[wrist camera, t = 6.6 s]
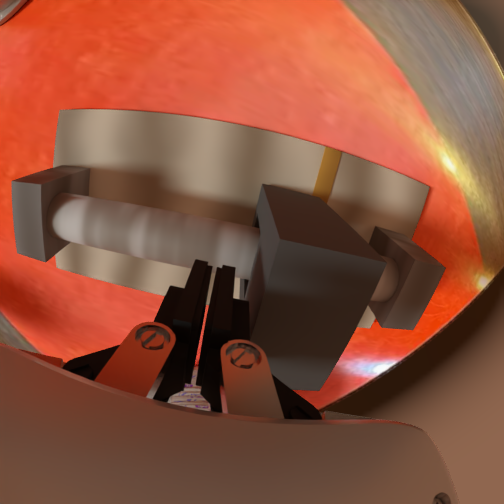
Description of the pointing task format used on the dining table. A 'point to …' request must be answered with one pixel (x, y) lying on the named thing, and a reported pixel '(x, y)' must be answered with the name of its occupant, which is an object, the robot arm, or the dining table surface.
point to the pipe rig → (207, 204)
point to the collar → (306, 285)
